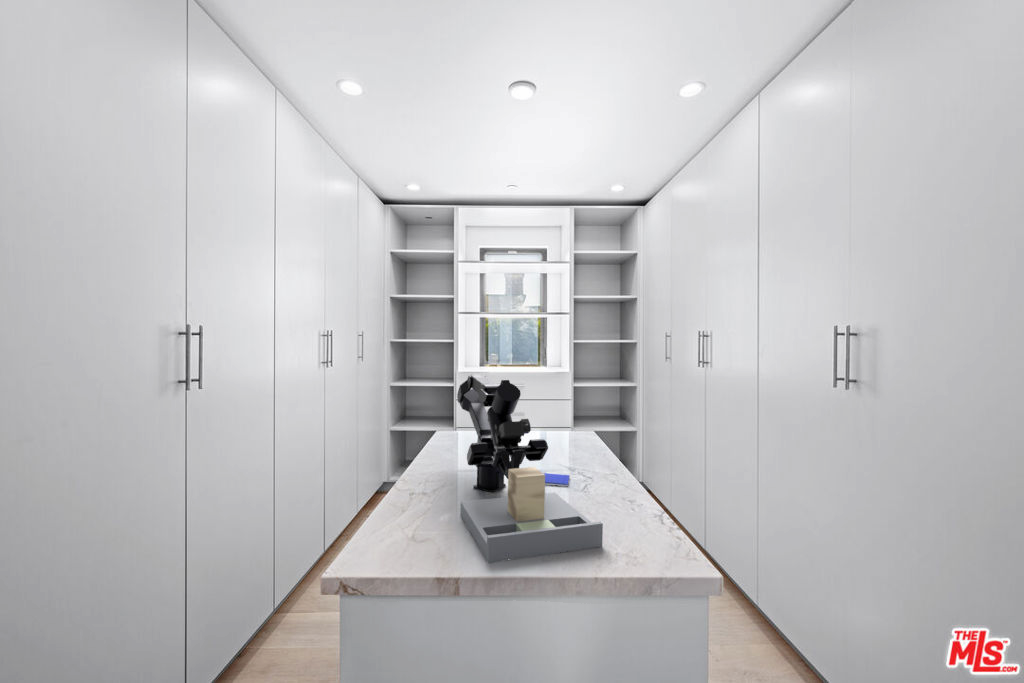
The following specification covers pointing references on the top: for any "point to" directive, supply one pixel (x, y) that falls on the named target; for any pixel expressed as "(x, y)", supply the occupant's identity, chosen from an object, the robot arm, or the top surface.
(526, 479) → the maple block
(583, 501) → the top surface
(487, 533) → the board
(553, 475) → the hard drive
